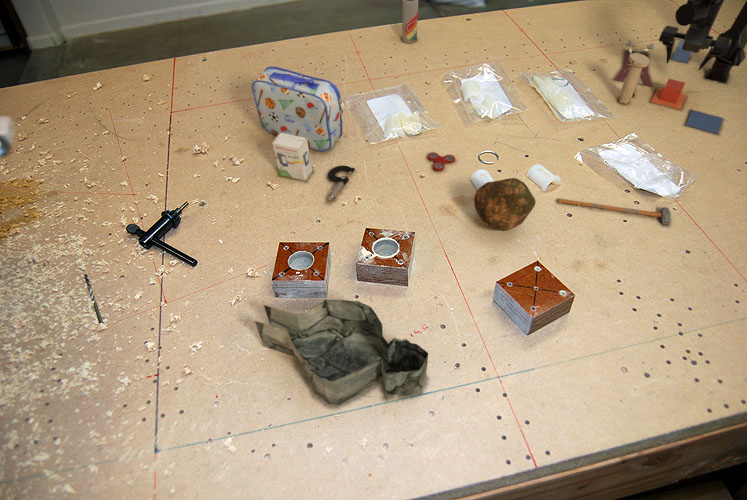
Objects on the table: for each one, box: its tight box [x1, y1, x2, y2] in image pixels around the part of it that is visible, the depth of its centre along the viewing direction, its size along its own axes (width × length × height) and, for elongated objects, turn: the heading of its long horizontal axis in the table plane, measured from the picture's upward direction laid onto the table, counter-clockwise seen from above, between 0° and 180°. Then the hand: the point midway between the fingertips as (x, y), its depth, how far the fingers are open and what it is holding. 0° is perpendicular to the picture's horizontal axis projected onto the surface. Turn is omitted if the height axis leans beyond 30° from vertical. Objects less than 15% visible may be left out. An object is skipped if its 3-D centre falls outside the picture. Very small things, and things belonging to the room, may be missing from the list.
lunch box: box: [251, 66, 346, 153], centre depth 153 cm, size 28×10×22 cm, turn 65°
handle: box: [618, 53, 651, 105], centre depth 164 cm, size 5×6×15 cm
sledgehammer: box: [558, 198, 672, 226], centre depth 136 cm, size 27×2×5 cm
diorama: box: [613, 39, 655, 97], centre depth 180 cm, size 12×35×5 cm, turn 159°
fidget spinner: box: [427, 151, 456, 172], centre depth 151 cm, size 8×7×1 cm
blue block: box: [671, 40, 692, 64], centre depth 185 cm, size 5×5×5 cm
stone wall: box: [254, 298, 429, 406], centre depth 105 cm, size 35×19×10 cm, turn 71°
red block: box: [659, 78, 686, 104], centre depth 167 cm, size 5×5×5 cm
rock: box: [473, 177, 537, 232], centre depth 129 cm, size 13×13×15 cm
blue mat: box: [685, 109, 724, 135], centre depth 161 cm, size 9×9×1 cm
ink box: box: [271, 133, 313, 181], centre depth 146 cm, size 9×5×12 cm, turn 70°
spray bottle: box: [401, 0, 419, 44], centre depth 194 cm, size 6×6×20 cm
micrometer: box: [325, 165, 356, 203], centre depth 146 cm, size 15×7×2 cm, turn 154°
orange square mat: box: [650, 87, 687, 110], centre depth 169 cm, size 9×9×1 cm
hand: (683, 66), depth 163 cm, fingers open, 9 cm apart
